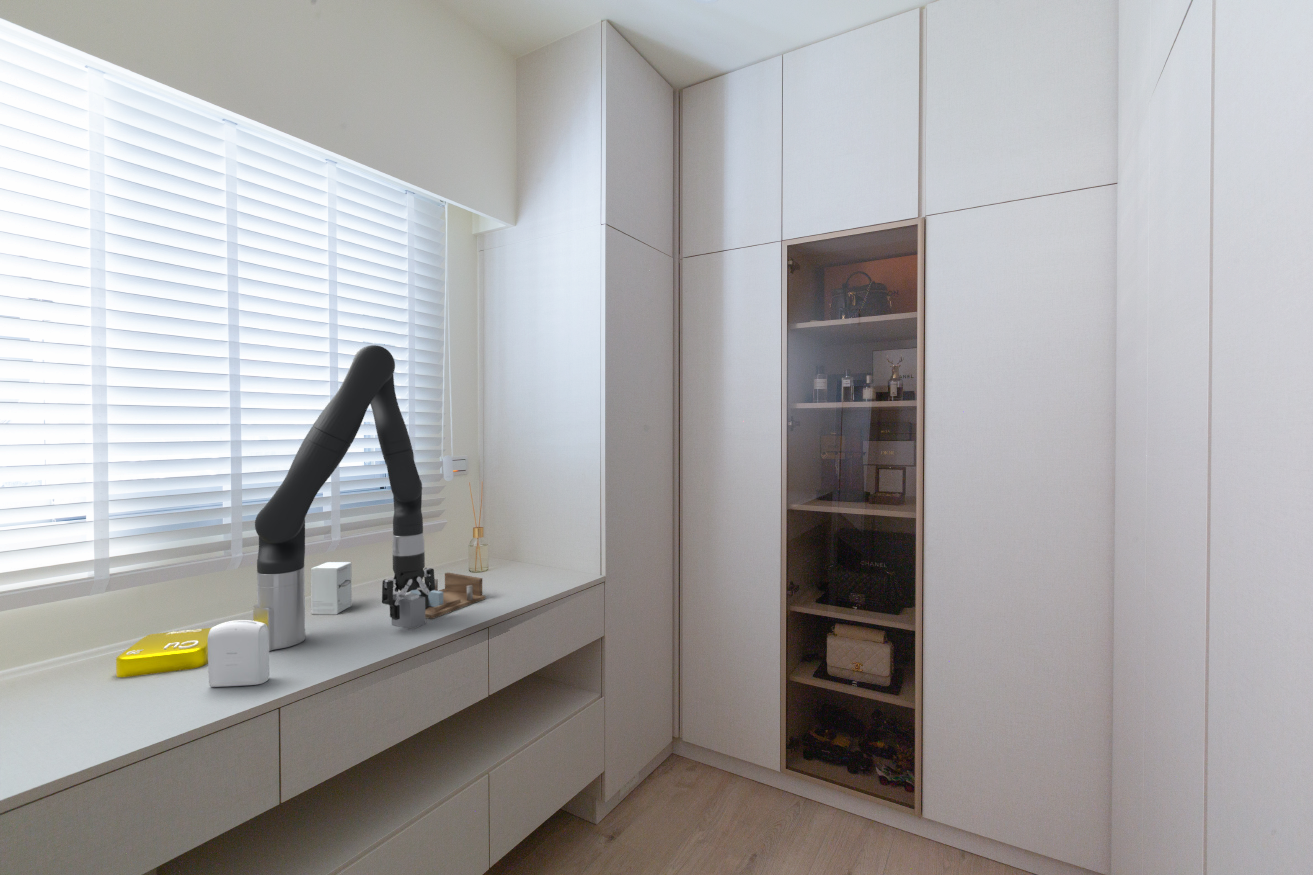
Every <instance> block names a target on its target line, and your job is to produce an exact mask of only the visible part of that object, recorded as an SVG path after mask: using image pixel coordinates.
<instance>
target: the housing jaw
mask: <svg viewBox="0 0 1313 875" xmlns="http://www.w3.org/2000/svg"><path fill="white" fill-rule="evenodd" d="M410 593H413V594H418V595H421V594H420V593H419V591H418V590H412V591H410ZM442 604H443V592H441V591H439V590H438V591H436V590H434V591H431V592H430V593H429V595H428V606H431V607H437V606H439V605H442Z"/></svg>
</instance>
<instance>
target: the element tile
mask: <svg viewBox="0 0 1313 875" xmlns="http://www.w3.org/2000/svg"><path fill="white" fill-rule="evenodd" d="M211 628H212V627H206V628H205V627H204V628H195V629H186V630H184V629H183V630H177V631H166V632H158V633H150V634H147V635H146V636H144V637H142V638H141V639H139V640H138V641H136V642H135V643H134V644H132V645H131V646H130V647H128V648H127V649H126V650H124V651H123V652H121V653H120V654H119V655H117V657H115V670H116V674H115V675H116V676H115V677H116V678H130V677H138V676H145V675H147V676H149V675H153V674H163V673H171V672H178V671H187V670H193V669H194V670H195V669H198V668H201V667H204V666H205V665H208V634H209V632H210V630H211Z"/></svg>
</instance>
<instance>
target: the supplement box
mask: <svg viewBox="0 0 1313 875" xmlns="http://www.w3.org/2000/svg"><path fill="white" fill-rule="evenodd" d="M352 587H353V586H352V562H350V561H327V562H324V563H322V564H321V563H320V564H319V565H317V566H314V567H311V568H310V594H311V595H310V610H311V612H310V614H311V615H338V614H340V613H341V612H343V611H345V610H346V609H348V608H350V607H352V605H353V604H352V600H353V599H352V597H353V596H352V595H353V594H352V589H353V588H352Z"/></svg>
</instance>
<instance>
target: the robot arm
mask: <svg viewBox="0 0 1313 875" xmlns="http://www.w3.org/2000/svg"><path fill="white" fill-rule="evenodd" d="M394 358H395V357H394V356H393V355H392V353H391V352H390V351H389V350H388V349H387V348H386V347H383V346H381V345H374V344H373V345H372V344H371V345H367V346H364V347H362V348H360V349H359V350H358V351H357V352H356V353H355V354H354V357H353V359H352V362H351V364H350V367H349V369H348V371H347V373H346V375H345V377H344V378H343V381H342V383H341V385H340V388H338V390H337V392H336V393H335V395H334V396H333V397H332V398H331V399H330V401H329V402H328V403H327V405H325V407H324V408H323V410H322V411H321V413H320V414H319V415H318V417H317V419H316V420H315V422H314V423H313V424H312V426H311V427H310V429H309V431H308V432H307V434H306V436H305V437H304V439H303V441H302V443H301V444H300V447H299V448H298V450H297V451H296V454H295V456H294V458H293V460H292V462H291V464H290V467H289V470H288V472H287V474H286V476H285V478H284V479H283V481H282V482H281V484H280V486H279V487H278V488H277V490H275V492H274V494H273V495H272V497H270V498H269V500H268V502H267V503H266V504H265V506H263V508H262V509H260V510H259V512H258V513H257V515H256V518H255V521H254V529H255V532H256V534H257V536H258V551H257V552H258V553H257V560H256V581H257V582H256V584H257V586H256V588H257V589H256V592H257V594H256V595H257V596H256V599H257V601H256V602H257V603H256V604H254V605H253V608H252V612H253V613H252V614H253V615H252V618H253V619H252V621H257V622H261V623H264V624H266V625H267V627H268V635H269V652H270V651H271V652H272V651H273V650H274V651H275V650H279V649H285V648H289V647H293V646H297V645H298V644H300V643H302V642H304V640H305V639H306V613H305V612H306V611H305V610H306V606H305V601H306V600H305V598H306V595H305V593H306V591H305V587H306V586H305V582H306V581H305V577H306V576H305V575H306V574H305V556H306V516H307V514H308V512H309V510H310V508H311V506H312V504H313V502H314V500H315V498H316V495H317V494H318V493H319V491H320V490H321V489H322V487H323V486H324V485H325V483H326V482H327V481H328V479H329V478H330V477H331V476H332V475H333V473H334V471H335V470H336V469H337V468H338V467H339V465H340V463H341V462H342V460H343V459H344V458H345V455H346V454H347V453H348V451H349V449H350V447H351V445H352V443H353V442H354V440H355V438H356V436H357V434H358V432H359V430H360V427H361V425H362V423H363V420H364V418H365V415H366V414H367V413H366V412H367V411H368V408H369V406H370V407H371V411H372V415H373V420H374V424H375V430H376V435H377V439H378V443H379V447H380V450H381V454H382V458H383V461H384V462H385V465H386V469H387V475H388V476H387V477H388V479H389V480H388V481H389V484H390V491H391V493H392V496H393V511H394V512H393V518H392V541H391V542H392V544H391V548H392V552H391V553H392V570H393V573H394V576H393V578H391V579H387V578H386V579H385V578H384V579H383V580H382V584H381V586H382V590H381V603H382V604H383V605H388V606H389V617H390V618H391V620H392V619H393V620H398V619H400V608H399V605H398V604H399V602H400V600H401V598H402V597H404V596H405V594H406V593H407V592H408V593H411V591H412V590H418V591H419V593H420V594H421V595H419V596H422V597H425V609H427V606H428V595H429V593H430V592H431V591H434V590H435V579H436V578H435V570H434V568H431V567H426V563H425V562H426V560H425V559H426V558H425V557H426V556H425V552H426V551H425V537H424V520H423V518H424V517H423V512H422V504H423V503H422V500H423V499H422V498H423V496H422V495H423V493H422V491H423V483H422V479H421V478H420V475H419V471H418V469H417V466H416V463H415V455H414V450H413V447H412V446H413V445H412V442H411V438H410V435H409V432H408V428H407V426H406V422H405V420H404V418H403V415H402V412H401V410H400V406H399V403H398V399H397V395H396V388H395V379H394V373H395V368H396V363H395V359H394ZM423 580H424V581H423Z"/></svg>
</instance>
